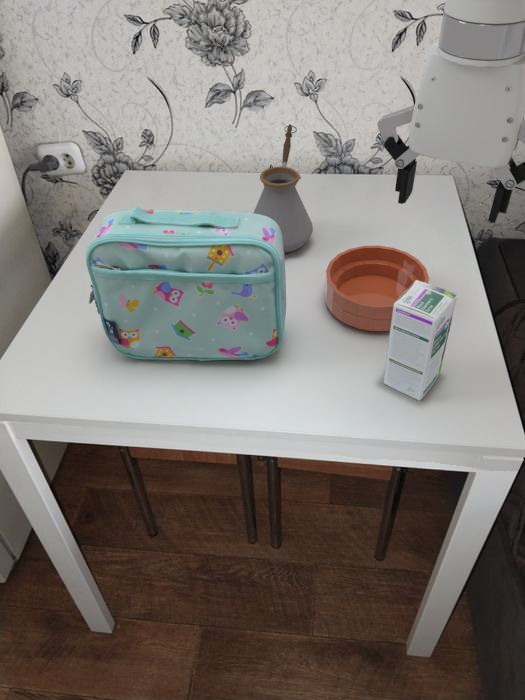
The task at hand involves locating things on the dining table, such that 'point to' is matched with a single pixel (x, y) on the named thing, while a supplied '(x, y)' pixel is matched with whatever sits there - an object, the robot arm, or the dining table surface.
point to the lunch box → (189, 284)
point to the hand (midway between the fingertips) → (448, 207)
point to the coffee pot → (285, 201)
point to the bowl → (370, 284)
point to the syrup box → (418, 338)
